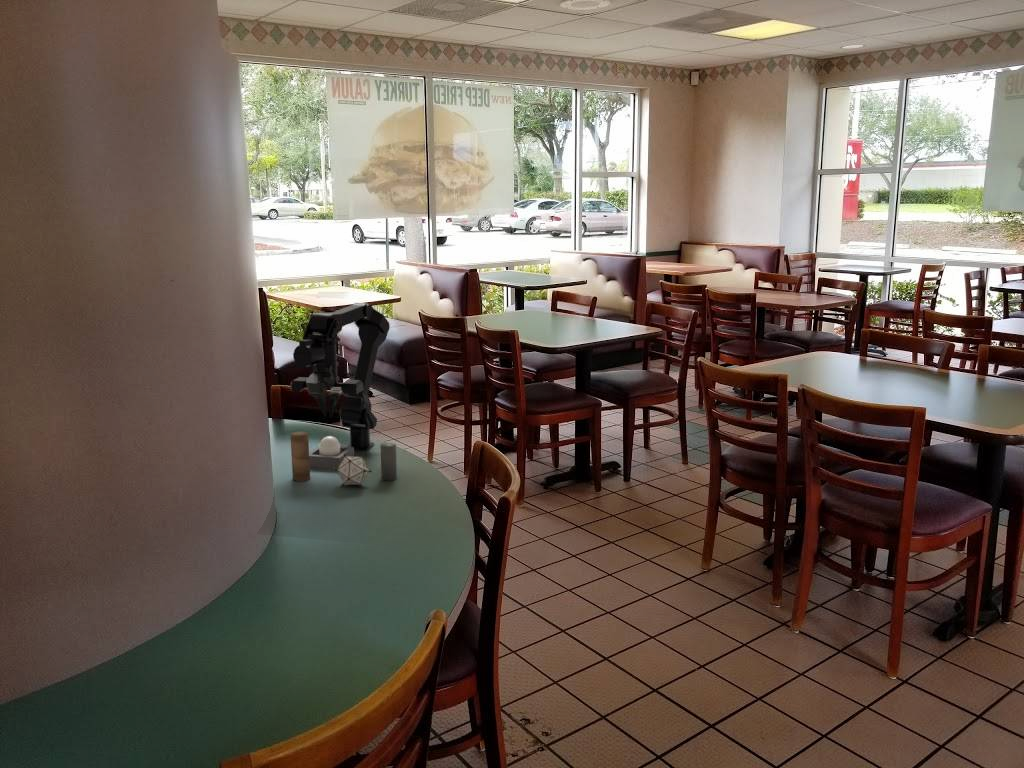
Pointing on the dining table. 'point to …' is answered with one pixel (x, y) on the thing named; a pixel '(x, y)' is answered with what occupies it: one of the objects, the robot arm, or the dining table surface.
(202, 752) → the dining table surface
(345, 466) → the grey faceted polyhedron
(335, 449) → the dome
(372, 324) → the robot arm
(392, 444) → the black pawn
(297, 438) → the walnut pawn
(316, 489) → the dining table surface
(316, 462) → the box
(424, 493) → the dining table surface
